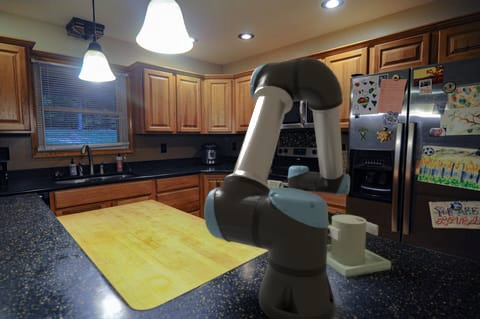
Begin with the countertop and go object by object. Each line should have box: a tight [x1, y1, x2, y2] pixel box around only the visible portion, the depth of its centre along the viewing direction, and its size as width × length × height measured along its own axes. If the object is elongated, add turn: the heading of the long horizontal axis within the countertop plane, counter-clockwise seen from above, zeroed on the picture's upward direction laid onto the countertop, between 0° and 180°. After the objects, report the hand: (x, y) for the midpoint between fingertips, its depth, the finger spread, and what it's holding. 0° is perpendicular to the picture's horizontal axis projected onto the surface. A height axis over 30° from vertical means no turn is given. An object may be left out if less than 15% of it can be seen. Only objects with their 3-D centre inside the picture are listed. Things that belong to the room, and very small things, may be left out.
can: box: [330, 214, 368, 266], centre depth 73 cm, size 9×9×12 cm
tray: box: [326, 243, 392, 278], centre depth 73 cm, size 15×15×2 cm
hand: (358, 232), depth 69 cm, fingers open, 12 cm apart
